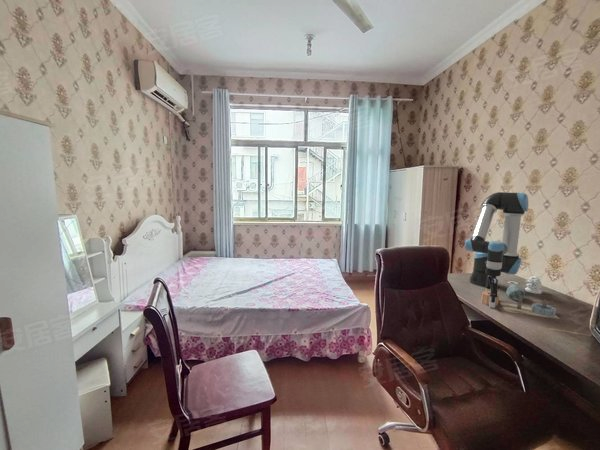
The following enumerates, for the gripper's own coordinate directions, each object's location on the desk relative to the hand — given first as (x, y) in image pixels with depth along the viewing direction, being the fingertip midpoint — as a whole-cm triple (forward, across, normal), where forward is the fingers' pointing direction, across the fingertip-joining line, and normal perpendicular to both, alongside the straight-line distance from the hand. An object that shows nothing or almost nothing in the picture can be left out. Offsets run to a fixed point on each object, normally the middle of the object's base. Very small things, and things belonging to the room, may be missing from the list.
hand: (489, 303), depth 175 cm
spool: (0, -15, +16) cm, 22 cm away
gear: (-1, +4, +24) cm, 25 cm away
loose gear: (0, 0, 0) cm, 0 cm away
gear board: (0, +4, +18) cm, 18 cm away
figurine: (0, -36, +31) cm, 48 cm away
